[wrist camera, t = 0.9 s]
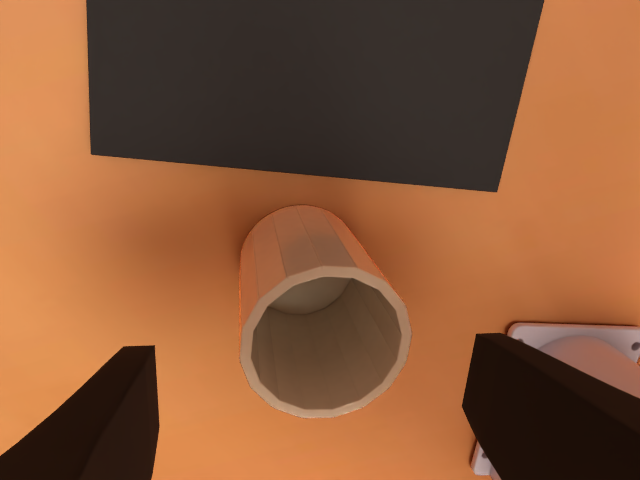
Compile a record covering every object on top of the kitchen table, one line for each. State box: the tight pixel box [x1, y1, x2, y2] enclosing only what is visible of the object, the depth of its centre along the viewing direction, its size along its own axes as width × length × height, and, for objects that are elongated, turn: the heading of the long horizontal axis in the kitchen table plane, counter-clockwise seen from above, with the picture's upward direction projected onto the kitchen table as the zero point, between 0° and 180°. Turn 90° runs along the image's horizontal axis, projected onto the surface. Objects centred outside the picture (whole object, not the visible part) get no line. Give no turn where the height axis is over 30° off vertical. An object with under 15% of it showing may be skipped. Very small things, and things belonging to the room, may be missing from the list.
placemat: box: [86, 0, 544, 192], centre depth 17 cm, size 13×17×1 cm
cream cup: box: [239, 205, 412, 418], centre depth 17 cm, size 5×5×7 cm
